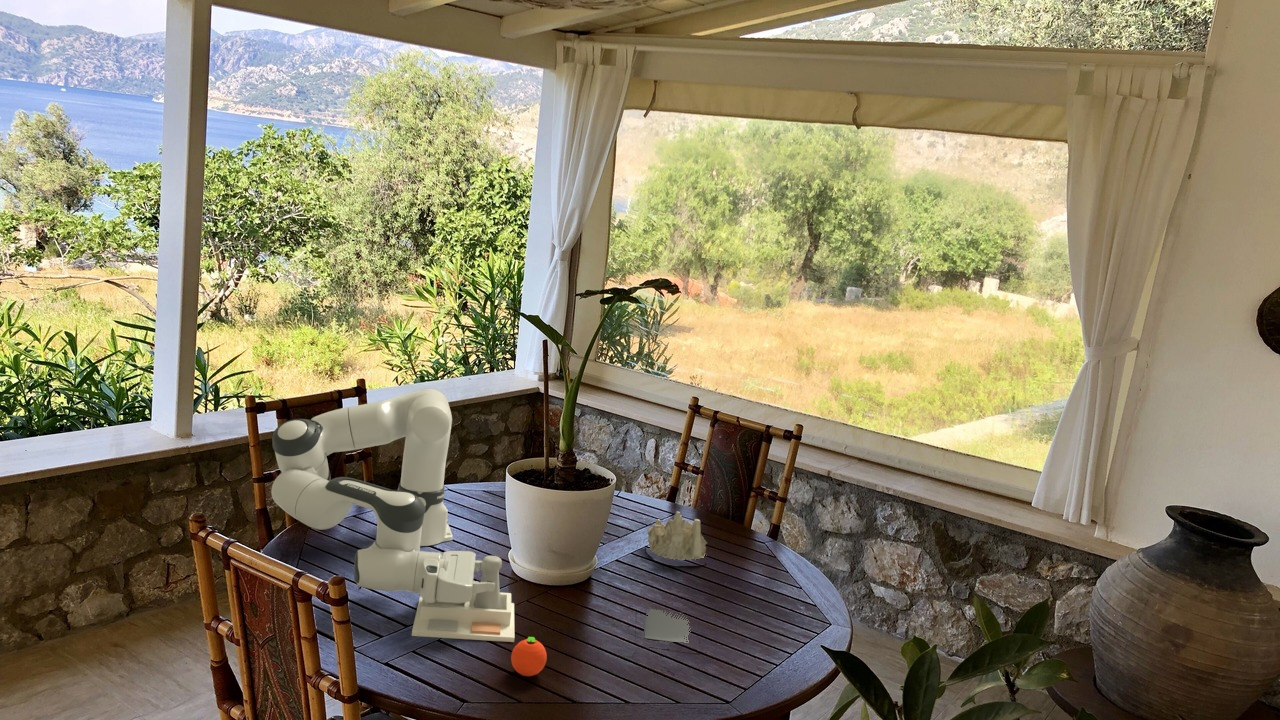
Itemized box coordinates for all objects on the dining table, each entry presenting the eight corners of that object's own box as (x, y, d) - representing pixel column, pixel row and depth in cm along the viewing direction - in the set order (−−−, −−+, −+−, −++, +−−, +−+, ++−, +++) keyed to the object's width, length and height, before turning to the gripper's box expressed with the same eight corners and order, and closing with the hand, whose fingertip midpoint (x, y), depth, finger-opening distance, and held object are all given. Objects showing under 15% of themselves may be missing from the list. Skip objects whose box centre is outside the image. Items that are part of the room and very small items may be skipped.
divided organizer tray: (419, 601, 204) (421, 584, 204) (513, 607, 208) (515, 590, 207) (411, 635, 188) (413, 617, 187) (513, 642, 191) (516, 624, 190)
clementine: (510, 661, 183) (514, 628, 182) (545, 664, 184) (549, 631, 182) (508, 681, 175) (512, 646, 174) (544, 684, 176) (548, 649, 175)
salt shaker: (491, 622, 196) (498, 565, 194) (467, 615, 198) (474, 558, 196) (503, 612, 202) (510, 556, 200) (480, 606, 204) (487, 550, 202)
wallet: (702, 649, 196) (632, 639, 197) (700, 658, 197) (631, 647, 197) (700, 611, 216) (637, 602, 217) (699, 619, 216) (636, 609, 217)
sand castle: (712, 567, 249) (717, 513, 248) (655, 568, 245) (659, 513, 243) (693, 549, 264) (698, 499, 263) (639, 550, 260) (643, 498, 258)
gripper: (433, 568, 207) (494, 572, 210) (424, 606, 187) (492, 611, 190) (435, 541, 207) (497, 546, 209) (428, 577, 187) (496, 582, 189)
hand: (495, 577), depth 199 cm, fingers open, 8 cm apart
